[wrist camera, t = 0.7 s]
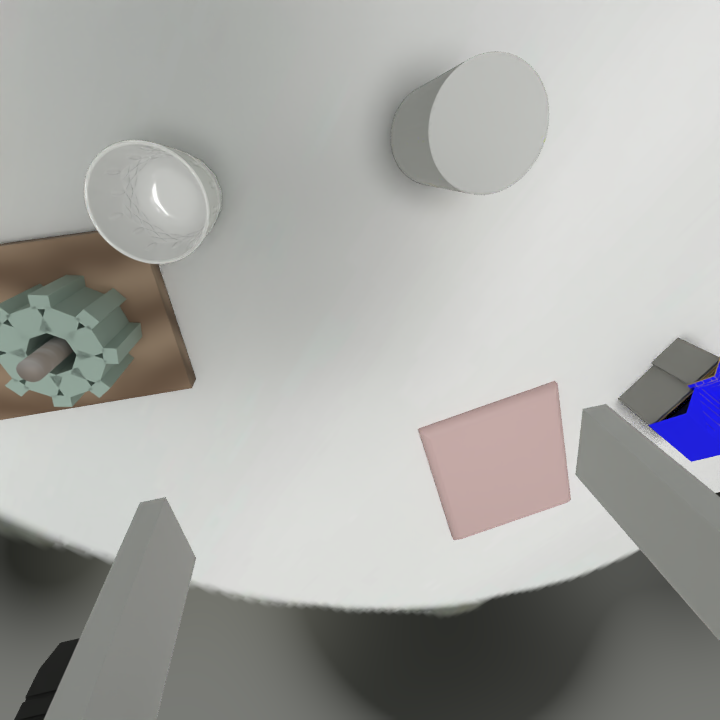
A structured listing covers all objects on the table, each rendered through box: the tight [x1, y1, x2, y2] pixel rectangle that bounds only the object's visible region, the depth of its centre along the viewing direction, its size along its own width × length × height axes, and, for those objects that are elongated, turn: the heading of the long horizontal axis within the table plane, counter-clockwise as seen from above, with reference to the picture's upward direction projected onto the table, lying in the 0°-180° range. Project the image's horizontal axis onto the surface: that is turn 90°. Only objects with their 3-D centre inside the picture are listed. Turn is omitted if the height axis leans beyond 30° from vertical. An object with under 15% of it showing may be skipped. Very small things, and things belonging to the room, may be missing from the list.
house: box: [618, 338, 720, 462], centre depth 51 cm, size 11×11×8 cm
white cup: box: [84, 140, 222, 264], centre depth 33 cm, size 8×8×10 cm
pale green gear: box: [0, 275, 142, 407], centre depth 36 cm, size 10×10×6 cm
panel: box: [418, 381, 571, 540], centre depth 55 cm, size 35×33×2 cm
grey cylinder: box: [391, 52, 549, 195], centre depth 33 cm, size 8×8×12 cm
